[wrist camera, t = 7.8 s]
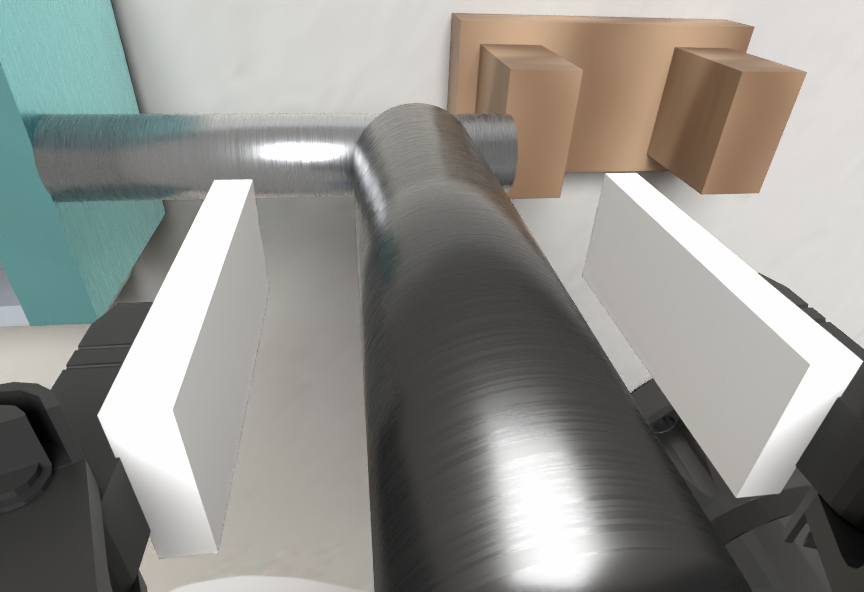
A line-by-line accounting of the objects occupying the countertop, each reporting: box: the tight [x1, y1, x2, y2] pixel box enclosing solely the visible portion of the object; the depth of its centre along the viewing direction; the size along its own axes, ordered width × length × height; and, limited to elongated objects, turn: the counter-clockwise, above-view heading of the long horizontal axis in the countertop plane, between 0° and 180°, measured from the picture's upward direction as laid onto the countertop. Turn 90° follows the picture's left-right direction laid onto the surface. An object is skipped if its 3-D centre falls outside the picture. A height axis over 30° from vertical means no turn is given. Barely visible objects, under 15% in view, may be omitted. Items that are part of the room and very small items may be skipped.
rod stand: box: [447, 13, 807, 199], centre depth 22 cm, size 12×6×6 cm, turn 88°
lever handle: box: [0, 0, 752, 592], centre depth 13 cm, size 15×10×21 cm, turn 88°
